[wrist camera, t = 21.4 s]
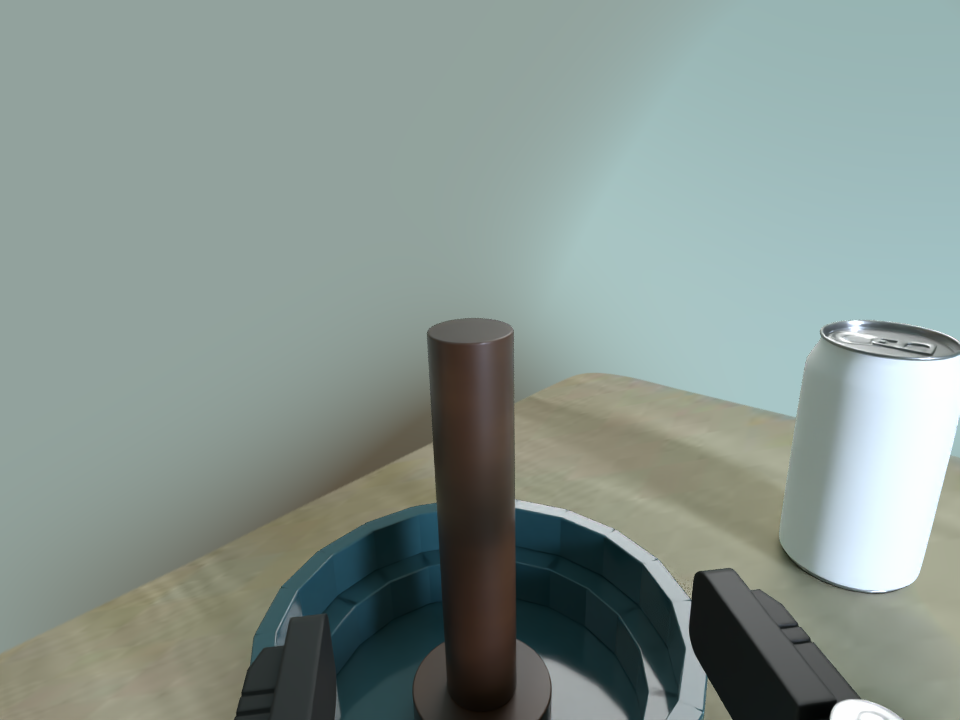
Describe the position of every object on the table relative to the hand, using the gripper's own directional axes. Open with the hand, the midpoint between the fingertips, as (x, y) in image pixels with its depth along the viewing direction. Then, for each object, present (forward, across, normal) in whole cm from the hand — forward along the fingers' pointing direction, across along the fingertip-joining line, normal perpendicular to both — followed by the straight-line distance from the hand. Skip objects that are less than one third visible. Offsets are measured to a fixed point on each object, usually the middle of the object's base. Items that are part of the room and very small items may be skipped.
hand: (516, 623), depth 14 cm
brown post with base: (+7, 0, +11) cm, 13 cm away
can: (+14, -20, +12) cm, 27 cm away
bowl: (+7, 0, +11) cm, 14 cm away
